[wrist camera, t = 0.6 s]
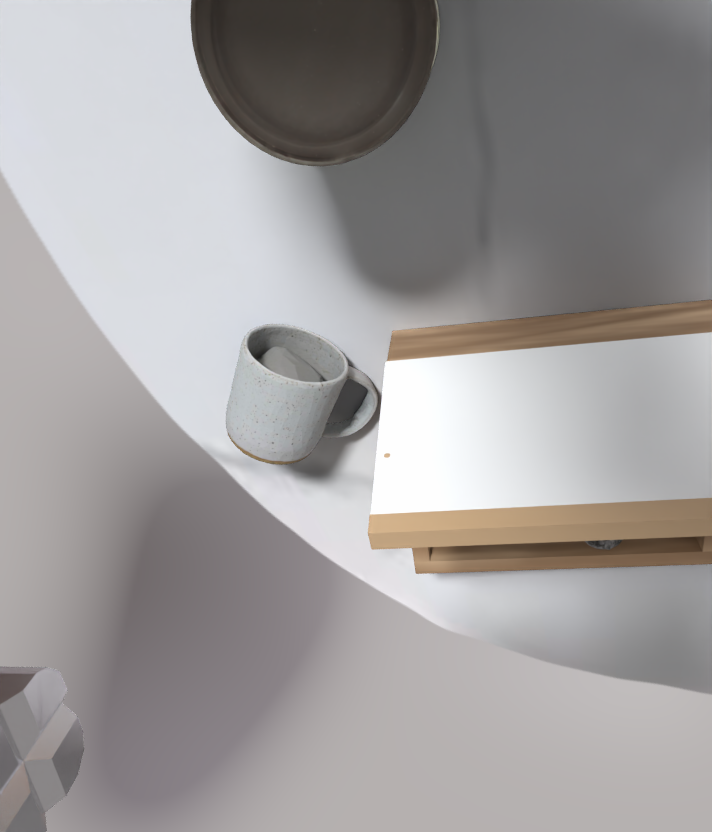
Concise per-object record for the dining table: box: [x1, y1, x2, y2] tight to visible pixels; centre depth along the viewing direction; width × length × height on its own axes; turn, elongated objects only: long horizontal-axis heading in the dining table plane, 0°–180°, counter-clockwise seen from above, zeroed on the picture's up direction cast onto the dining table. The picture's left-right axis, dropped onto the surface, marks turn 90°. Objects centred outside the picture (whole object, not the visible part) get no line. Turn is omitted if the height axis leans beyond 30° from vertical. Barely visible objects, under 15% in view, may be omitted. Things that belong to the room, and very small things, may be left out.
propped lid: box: [368, 332, 712, 549], centre depth 39 cm, size 14×22×15 cm, turn 99°
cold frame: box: [387, 300, 712, 574], centre depth 48 cm, size 18×22×6 cm
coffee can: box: [191, 0, 440, 166], centre depth 33 cm, size 10×10×14 cm
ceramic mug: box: [226, 324, 378, 465], centre depth 48 cm, size 11×8×8 cm
